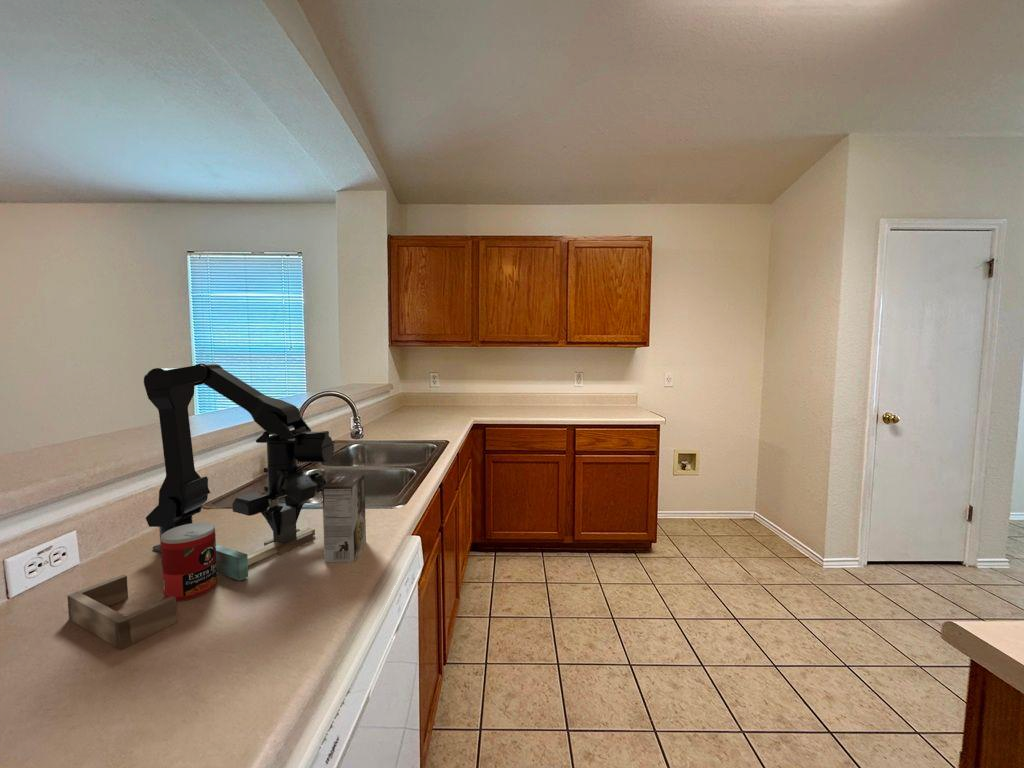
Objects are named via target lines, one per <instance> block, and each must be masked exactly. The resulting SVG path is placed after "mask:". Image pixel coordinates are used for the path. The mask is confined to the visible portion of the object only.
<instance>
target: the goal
mask: <svg viewBox="0 0 1024 768" xmlns="http://www.w3.org/2000/svg"><path fill="white" fill-rule="evenodd" d="M66 597H67V611H68V620H69V621H71V622H73V623H75V624H76V625H78V626H80V627H82V628H83V629H84V630H86V631H88V632H90V633H91V634H93V635H95V636H96V637H98V638H100V639H101V640H103V641H105V642H106V643H108V644H110V645H112V646H113V647H115V648H117V649H118V650H120V651H122V650H123V649H125V648H127V647H129V646H131V645H134V644H136V643H138V642H140V641H141V640H144V639H146V638H148V637H149V636H152V635H154V634H156V633H158V632H159V631H162V630H164V629H166V628H168V627H169V626H172V625H174V624H175V623H176V624H177V622H178V613H177V609H178V608H177V601H176V597H174V596H170V597H167V598H166V597H165V598H163V599H161V600H158V601H156V602H154V603H152V604H150V605H148V606H145V607H143V608H140V609H138V610H136V611H134V612H131V613H130V614H127V615H123V614H122V613H120V612H119V611H116V610H114V609H112V608H111V606H113V605H114V604H117V603H120V602H122V601H125V600H127V599H128V598H129V589H128V575H126V574H121V575H118V576H115V577H112V578H110V579H107V580H104V581H102V582H100V583H97V584H93V585H92V586H89V587H85V588H83V589H81V590H76V591H75V592H73V593H69V594H67V596H66Z"/></svg>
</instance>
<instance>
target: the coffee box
mask: <svg viewBox="0 0 1024 768" xmlns="http://www.w3.org/2000/svg"><path fill="white" fill-rule="evenodd" d="M365 485H366V484H365V473H335V475H334V476H332V477H331V478H330V479H328V481H327V483H326V484H325V485H323V486H322V491H321V492H322V519H323V520H322V521H323V522H322V523H323V527H322V528H323V549H324V550H323V555H324V557H323V558H324V560H323V561H324V563H345V562H347V563H348V562H350V563H351V562H355V561H356V559H357V558H358V556H359V555H360V553H361V551H362V550H363V548H364V546H365V545H366V542H367V530H366V529H367V528H366V527H367V525H366V522H367V521H366V495H365V493H366V492H365V491H366V489H365V487H366V486H365Z"/></svg>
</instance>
